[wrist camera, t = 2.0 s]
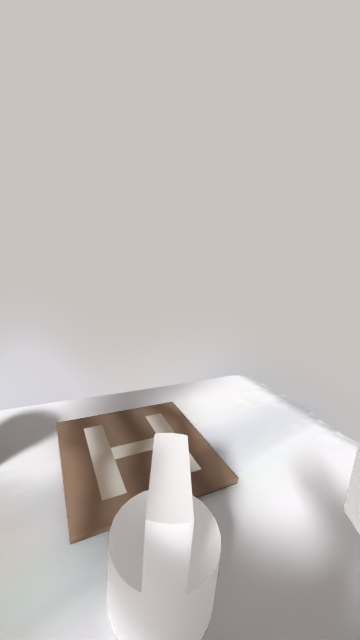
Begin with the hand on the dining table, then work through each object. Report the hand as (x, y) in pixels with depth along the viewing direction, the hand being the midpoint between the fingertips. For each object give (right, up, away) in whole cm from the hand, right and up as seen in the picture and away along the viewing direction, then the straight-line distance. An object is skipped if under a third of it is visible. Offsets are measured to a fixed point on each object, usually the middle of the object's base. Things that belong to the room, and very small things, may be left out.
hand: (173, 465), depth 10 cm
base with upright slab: (-1, -18, +14) cm, 23 cm away
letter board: (-6, -14, +30) cm, 33 cm away
